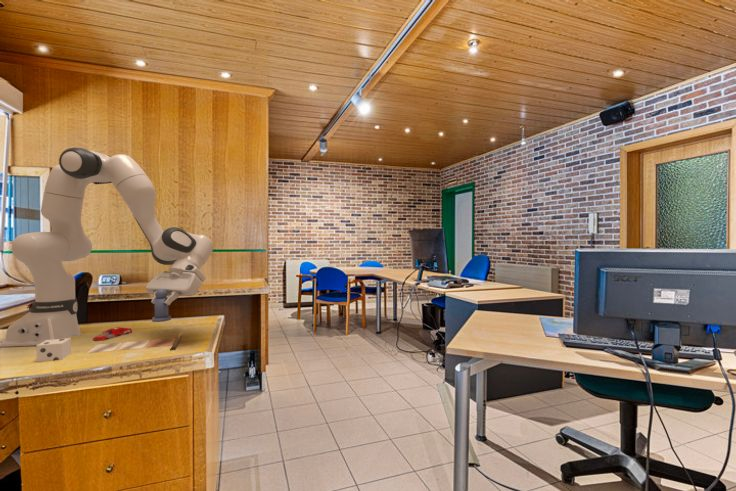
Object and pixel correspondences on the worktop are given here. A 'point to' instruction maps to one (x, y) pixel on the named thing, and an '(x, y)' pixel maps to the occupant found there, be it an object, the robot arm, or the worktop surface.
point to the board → (136, 345)
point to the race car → (112, 333)
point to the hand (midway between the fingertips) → (159, 303)
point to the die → (53, 349)
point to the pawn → (161, 307)
